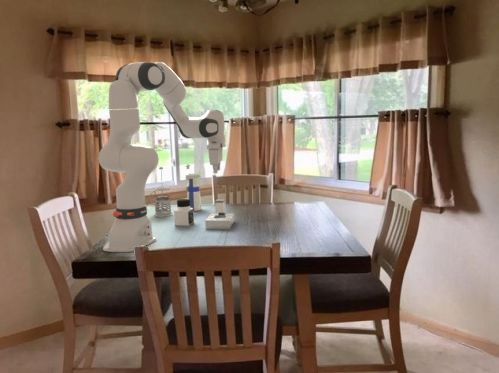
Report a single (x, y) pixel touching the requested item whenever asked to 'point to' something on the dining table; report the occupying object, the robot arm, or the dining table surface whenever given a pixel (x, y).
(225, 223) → the socket
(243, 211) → the dining table surface
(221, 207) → the plug
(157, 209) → the french press
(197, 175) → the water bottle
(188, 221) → the medicine bottle
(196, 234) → the dining table surface
